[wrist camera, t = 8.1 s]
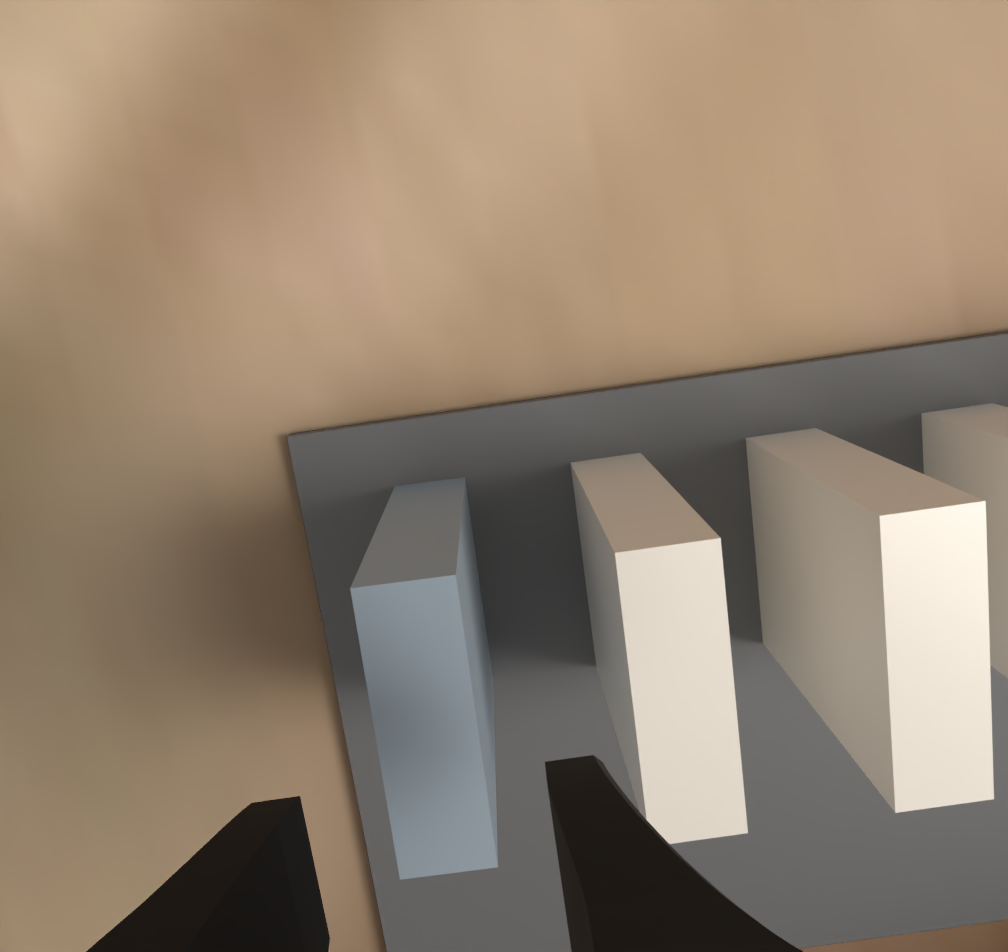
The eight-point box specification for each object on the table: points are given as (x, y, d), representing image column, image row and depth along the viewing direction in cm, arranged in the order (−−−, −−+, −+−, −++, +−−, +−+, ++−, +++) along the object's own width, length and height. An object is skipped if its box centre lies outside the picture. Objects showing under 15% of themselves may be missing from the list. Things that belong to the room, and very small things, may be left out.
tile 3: (816, 428, 20) (985, 500, 13) (829, 633, 21) (994, 799, 14) (745, 437, 20) (879, 515, 13) (763, 643, 21) (895, 813, 14)
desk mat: (1252, 296, 20) (1267, 296, 20) (1232, 877, 23) (1244, 887, 23) (290, 433, 20) (286, 437, 20) (398, 992, 24) (396, 1004, 23)
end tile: (465, 477, 20) (455, 574, 13) (493, 680, 21) (497, 867, 14) (394, 486, 20) (349, 588, 13) (426, 689, 21) (400, 880, 15)
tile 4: (640, 452, 20) (720, 538, 13) (662, 657, 21) (747, 833, 14) (570, 462, 20) (614, 552, 13) (596, 666, 21) (649, 846, 14)
